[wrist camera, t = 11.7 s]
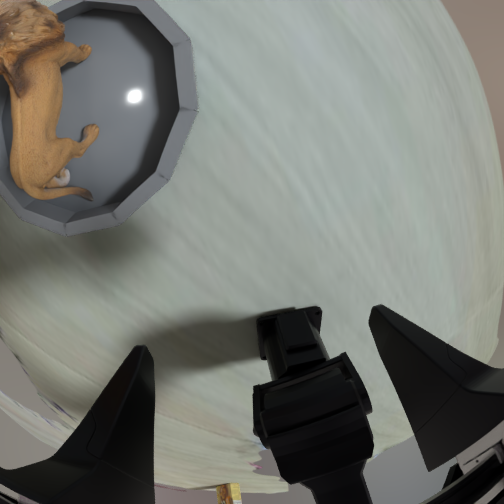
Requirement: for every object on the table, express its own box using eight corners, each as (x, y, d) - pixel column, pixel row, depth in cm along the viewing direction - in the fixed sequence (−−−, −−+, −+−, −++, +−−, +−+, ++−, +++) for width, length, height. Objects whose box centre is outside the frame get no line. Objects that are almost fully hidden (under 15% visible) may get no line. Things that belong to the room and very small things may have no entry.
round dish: (211, 196, 19) (211, 209, 17) (27, 235, 18) (13, 250, 16) (187, -23, 10) (185, -39, 8) (-6, 57, 9) (-24, 57, 7)
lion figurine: (30, 38, 9) (-48, 29, 2) (89, 4, 10) (23, -37, 2) (69, 207, 17) (5, 276, 9) (128, 186, 17) (76, 253, 10)
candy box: (224, 486, 72) (229, 520, 59) (215, 486, 70) (219, 520, 57) (239, 483, 69) (245, 518, 56) (229, 482, 67) (235, 519, 54)
